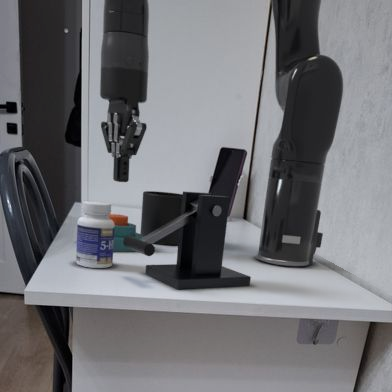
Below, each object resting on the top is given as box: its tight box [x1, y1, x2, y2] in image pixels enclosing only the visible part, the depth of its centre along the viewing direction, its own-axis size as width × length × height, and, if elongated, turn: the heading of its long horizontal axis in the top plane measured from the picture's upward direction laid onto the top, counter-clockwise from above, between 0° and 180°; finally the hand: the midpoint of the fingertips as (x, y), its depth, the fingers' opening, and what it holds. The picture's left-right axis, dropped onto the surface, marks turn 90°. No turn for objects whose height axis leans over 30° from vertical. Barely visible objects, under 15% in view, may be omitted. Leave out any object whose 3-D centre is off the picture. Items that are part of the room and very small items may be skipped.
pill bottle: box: [75, 200, 114, 269], centre depth 79 cm, size 5×5×9 cm
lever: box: [123, 199, 198, 257], centre depth 72 cm, size 13×6×2 cm, turn 125°
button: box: [109, 213, 129, 226], centre depth 95 cm, size 4×4×2 cm
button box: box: [113, 222, 144, 252], centre depth 96 cm, size 10×8×4 cm
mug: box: [140, 190, 183, 246], centre depth 107 cm, size 9×12×9 cm
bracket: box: [145, 191, 252, 290], centre depth 75 cm, size 12×9×12 cm
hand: (120, 181), depth 93 cm, fingers closed
